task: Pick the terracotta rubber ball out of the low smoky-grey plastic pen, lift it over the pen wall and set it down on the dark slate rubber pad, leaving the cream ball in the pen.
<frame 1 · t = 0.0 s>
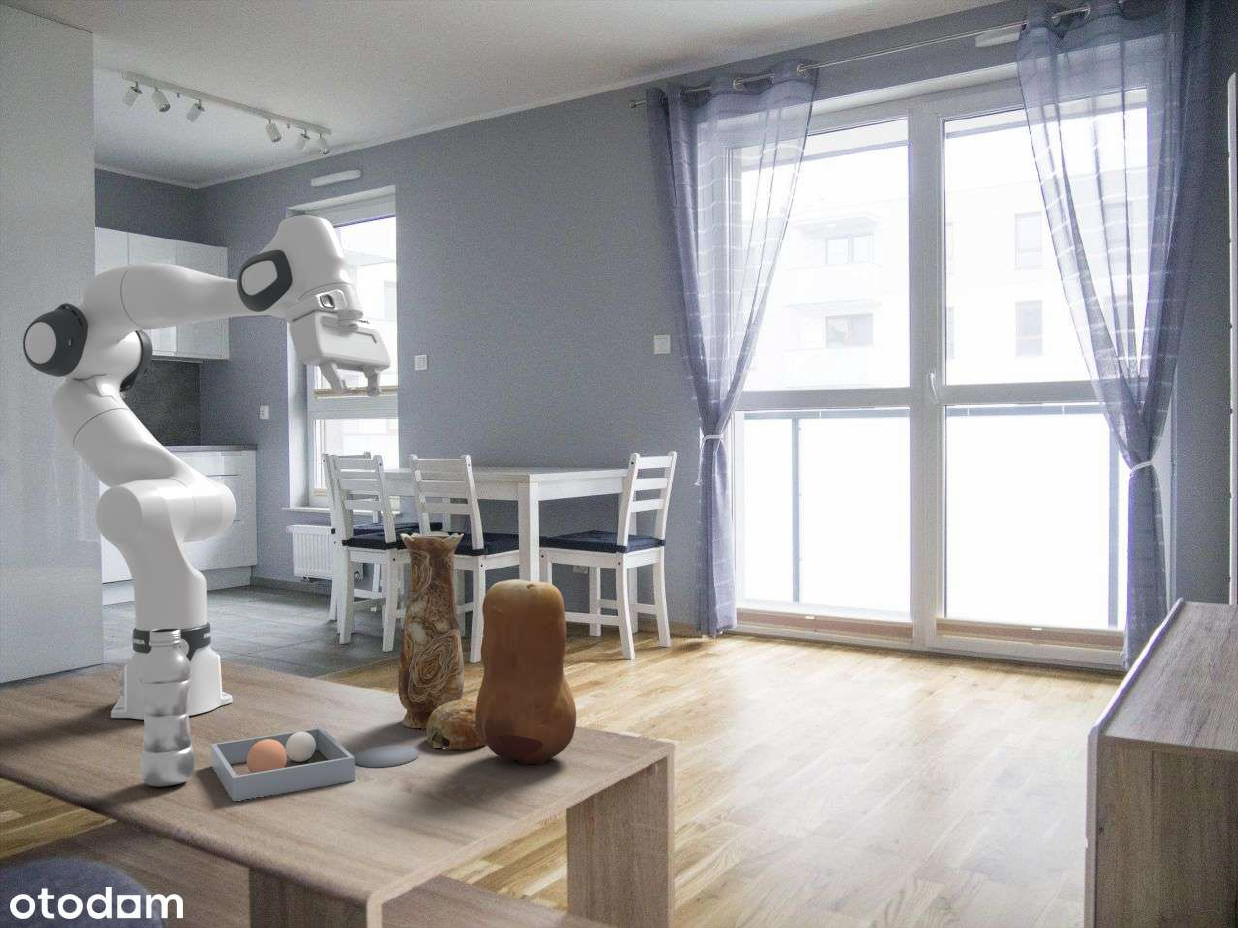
hand: (358, 394, 154), 52 cm above the table, tool tilted 20°, fingers open, 8 cm apart
pad: (386, 757, 139), on the table
cream ball: (301, 761, 138), resting in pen
vase: (432, 723, 157), on the table
butternut squash: (526, 761, 137), on the table
plastic bottle: (168, 785, 129), on the table
terracotta ball: (267, 778, 131), resting in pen
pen: (281, 773, 133), on the table
bread roll: (461, 742, 147), on the table
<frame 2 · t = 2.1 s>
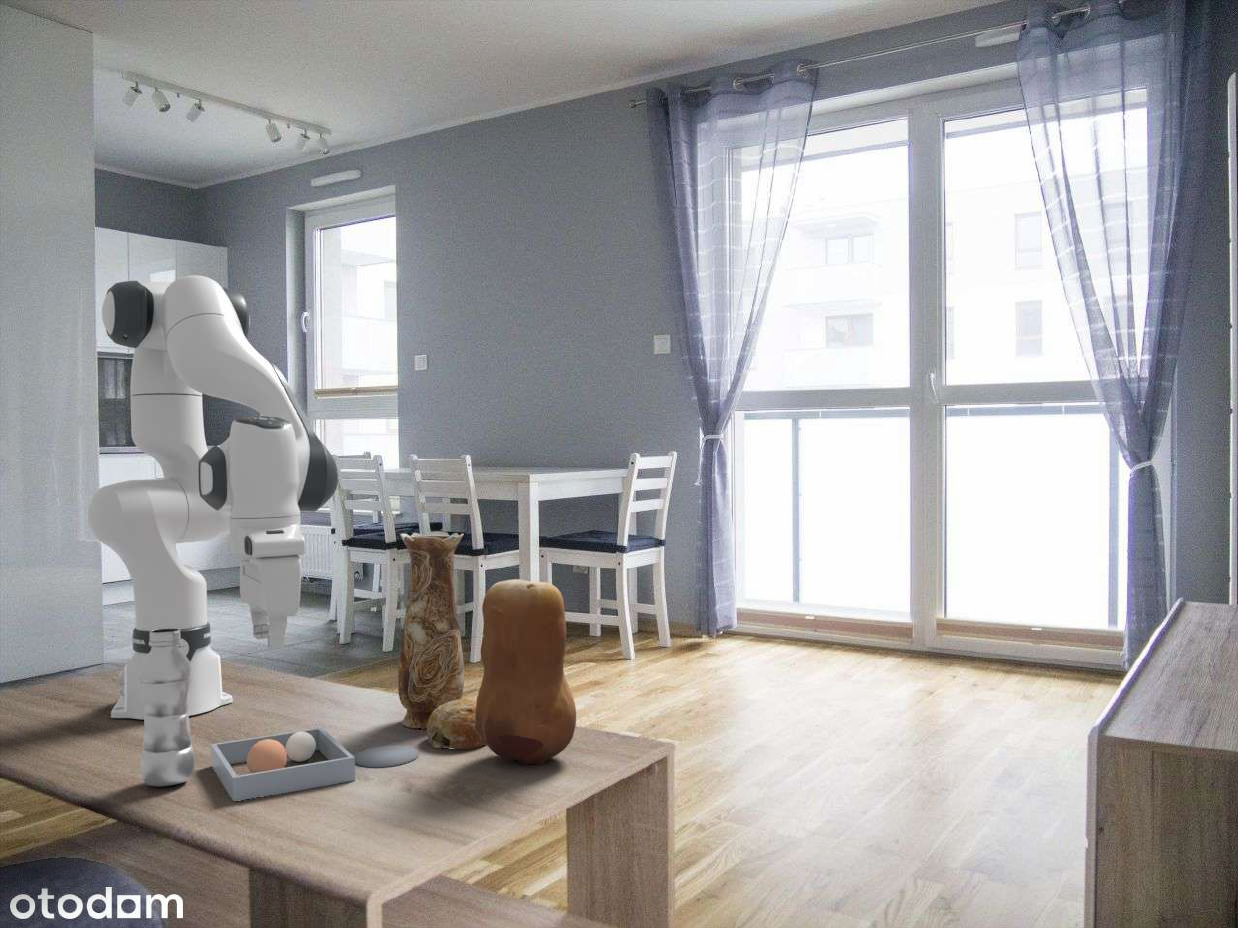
hand: (268, 643, 131), 18 cm above the table, tool pointing down, fingers open, 8 cm apart
nothing on the table moved.
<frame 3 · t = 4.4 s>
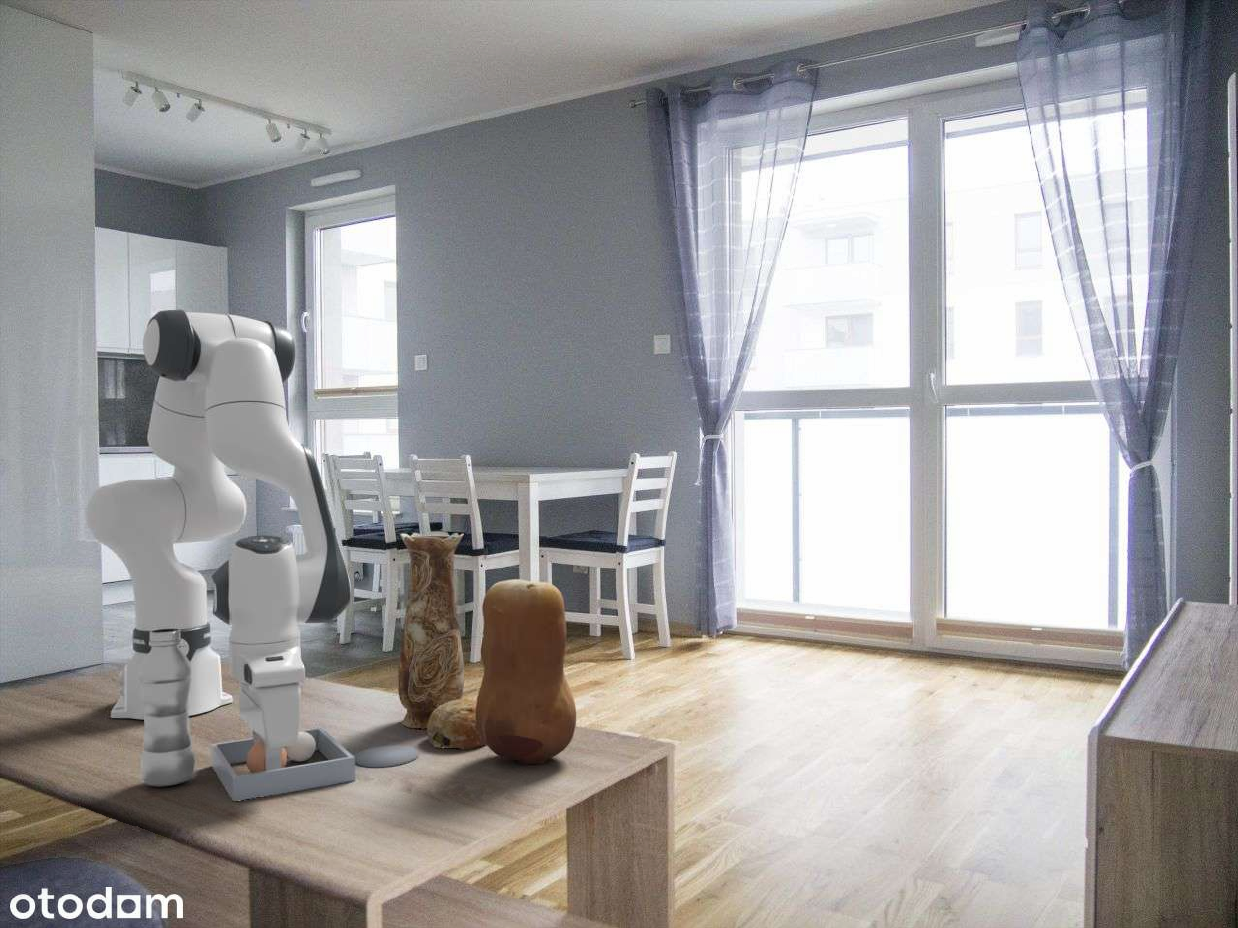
hand: (267, 764, 131), 2 cm above the table, tool pointing down, fingers closed on terracotta ball, 5 cm apart
terracotta ball: (267, 778, 131), resting in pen, touching gripper
everything else where it was.
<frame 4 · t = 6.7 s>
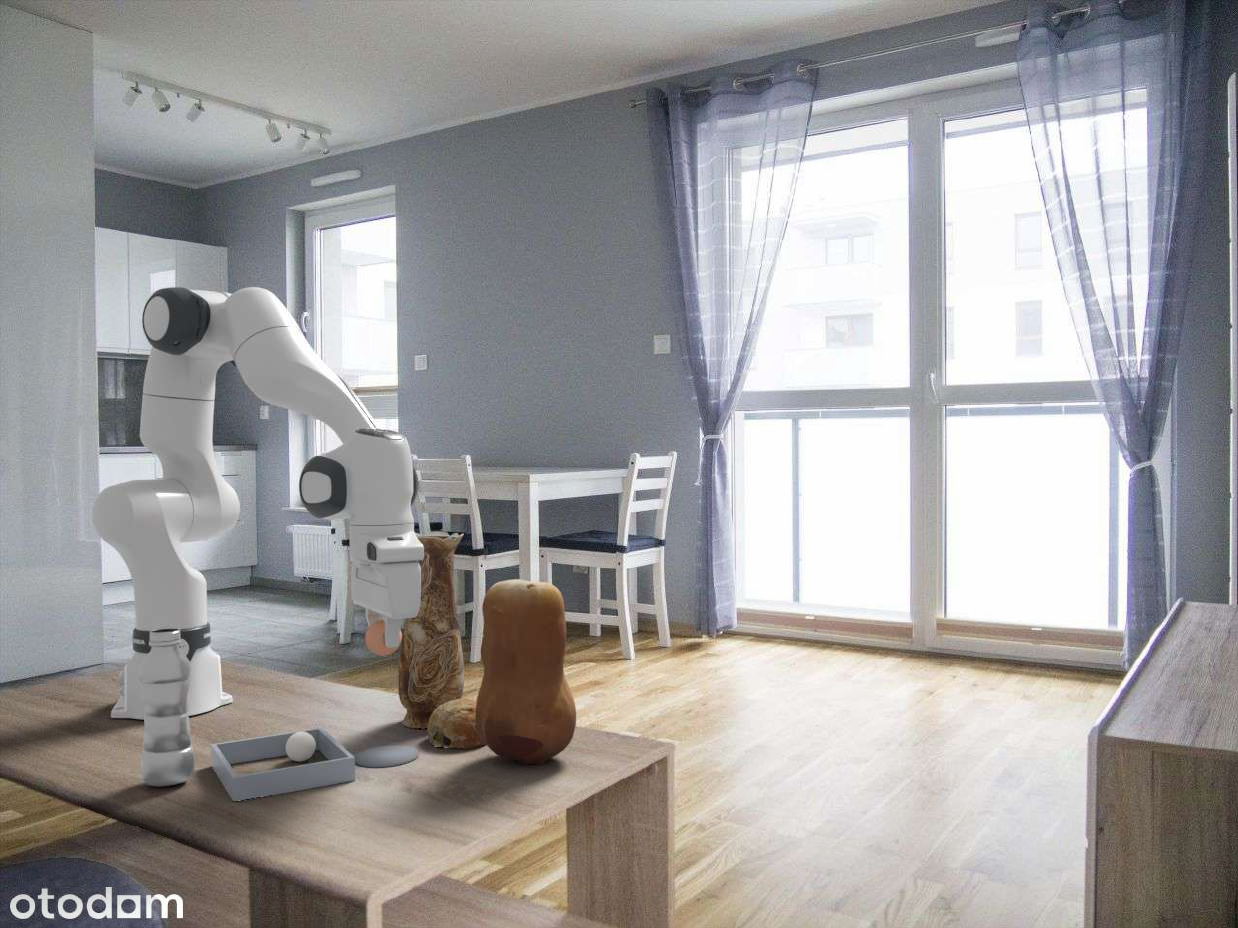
hand: (383, 643, 139), 16 cm above the table, tool pointing down, fingers closed on terracotta ball, 5 cm apart
terracotta ball: (383, 655, 139), point 14 cm above the table, touching gripper
everything else where it was.
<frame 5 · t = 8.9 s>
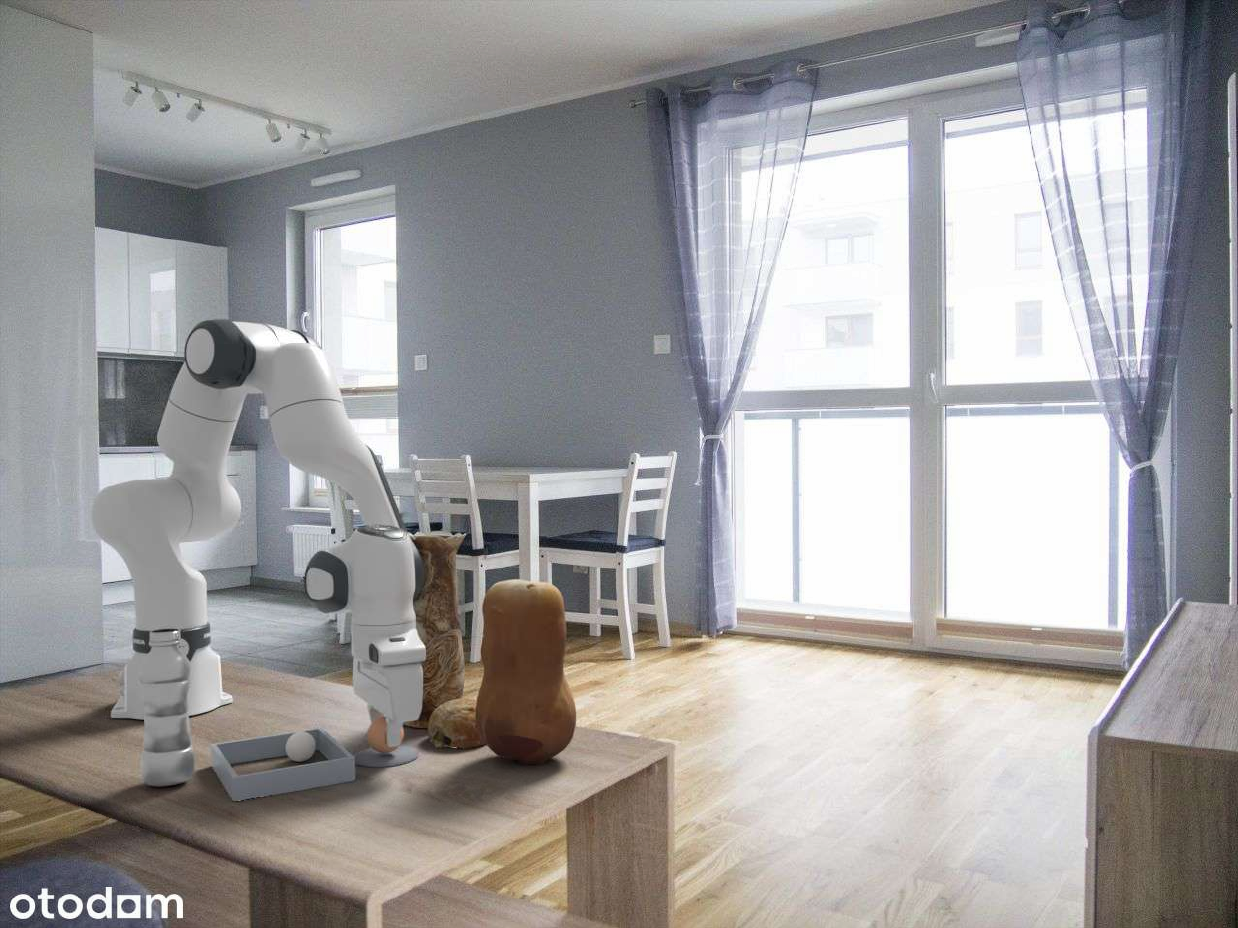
hand: (385, 740, 139), 2 cm above the table, tool pointing down, fingers closed on terracotta ball, 5 cm apart
vase: (432, 722, 157), on the table, touching arm
terracotta ball: (385, 752, 139), point 1 cm above the table, touching gripper
everything else where it was.
when the fingers open (2 cm above the table, at t = 9.2 s): terracotta ball stays where it is, resting on pad.
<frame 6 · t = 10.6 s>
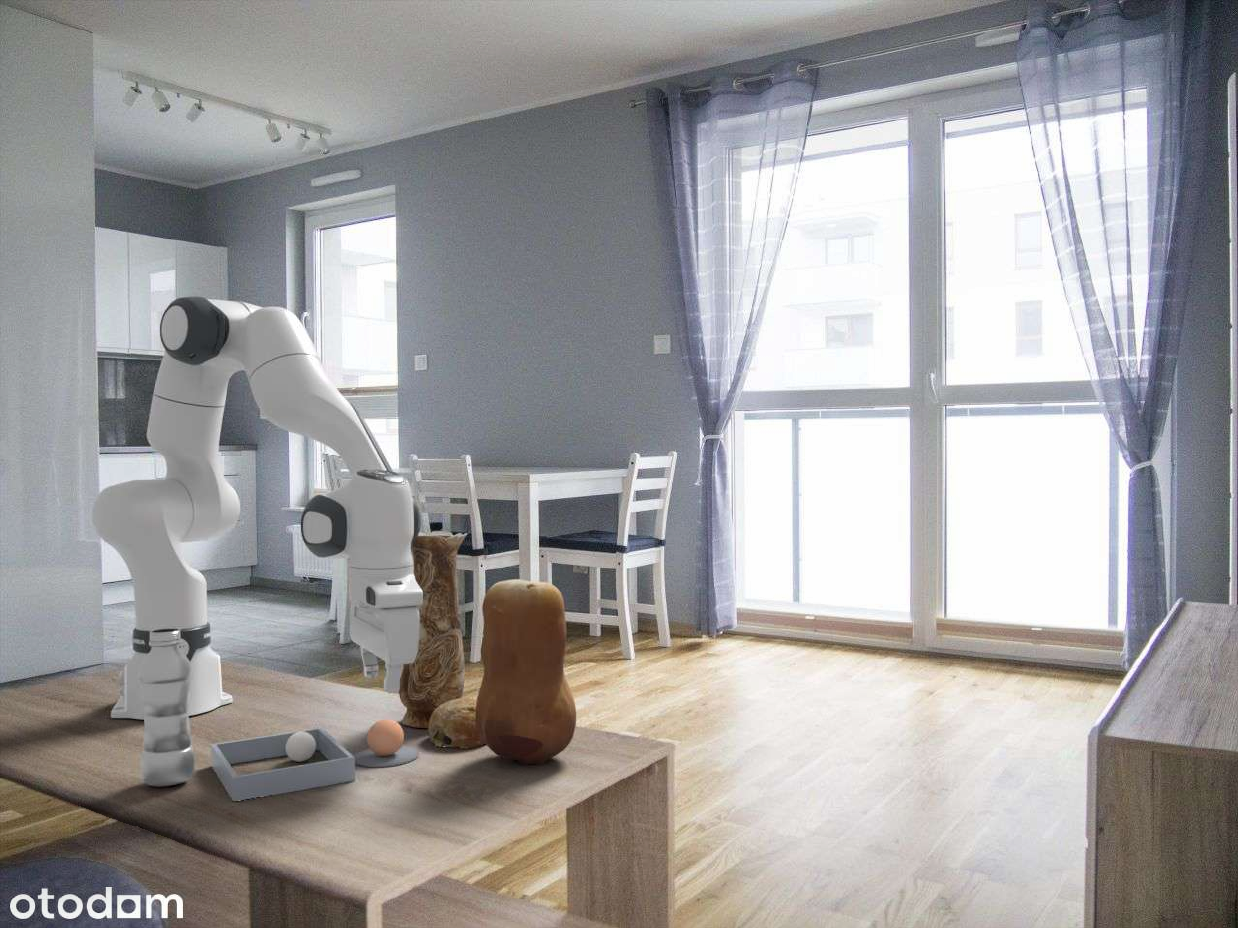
hand: (381, 684, 139), 10 cm above the table, tool pointing down, fingers open, 8 cm apart
vase: (432, 722, 157), on the table
terracotta ball: (385, 755, 139), resting on pad
everything else where it was.
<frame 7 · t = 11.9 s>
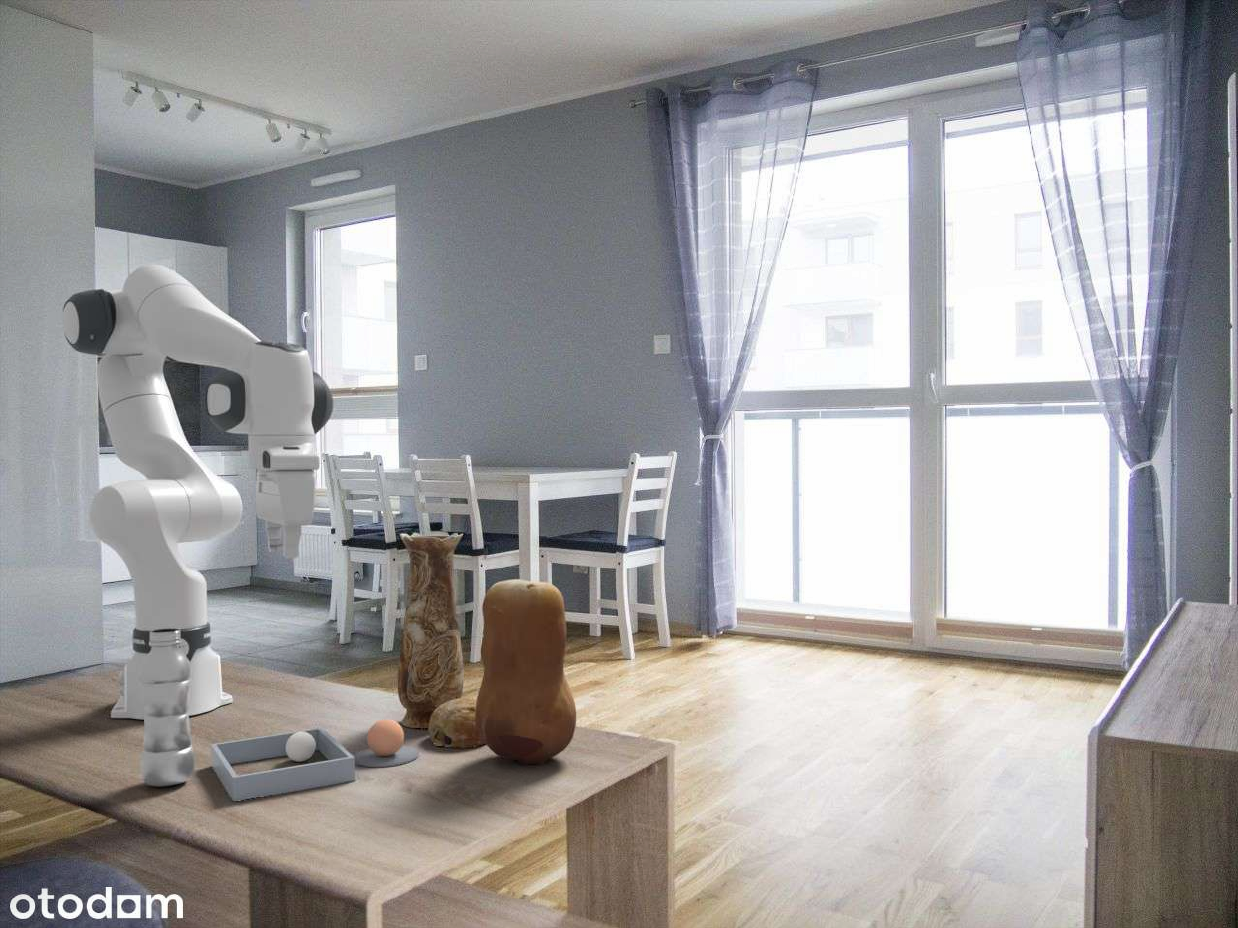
hand: (282, 554, 139), 29 cm above the table, tool pointing down, fingers open, 8 cm apart
nothing on the table moved.
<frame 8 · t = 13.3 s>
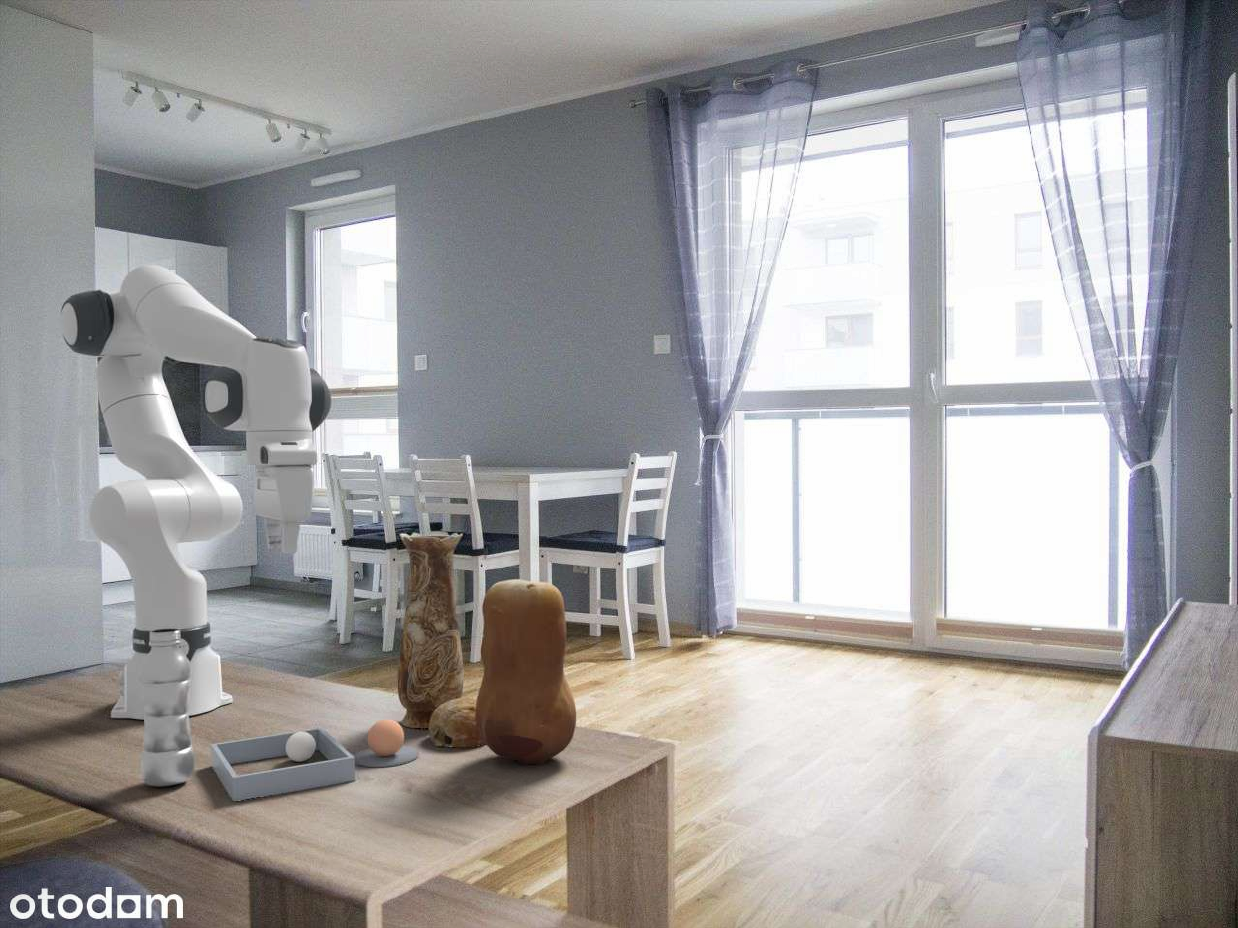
hand: (281, 550, 139), 29 cm above the table, tool pointing down, fingers open, 8 cm apart
at the end: terracotta ball 0.0 cm from the pad (horizontally); terracotta ball resting on pad; the gripper is holding nothing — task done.
